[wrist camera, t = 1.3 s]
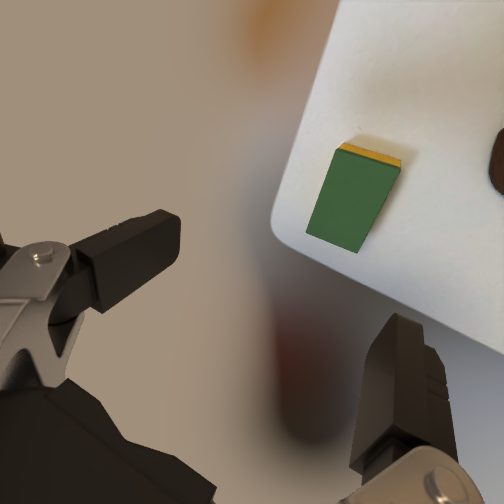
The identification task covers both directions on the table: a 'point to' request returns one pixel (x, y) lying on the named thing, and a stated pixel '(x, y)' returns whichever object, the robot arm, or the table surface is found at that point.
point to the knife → (498, 163)
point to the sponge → (352, 196)
